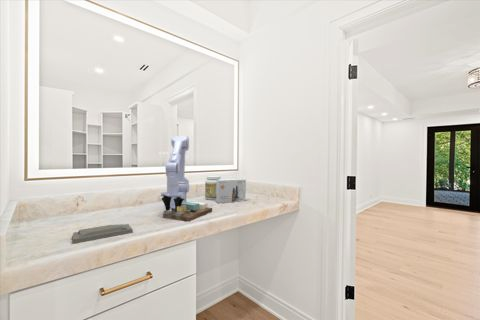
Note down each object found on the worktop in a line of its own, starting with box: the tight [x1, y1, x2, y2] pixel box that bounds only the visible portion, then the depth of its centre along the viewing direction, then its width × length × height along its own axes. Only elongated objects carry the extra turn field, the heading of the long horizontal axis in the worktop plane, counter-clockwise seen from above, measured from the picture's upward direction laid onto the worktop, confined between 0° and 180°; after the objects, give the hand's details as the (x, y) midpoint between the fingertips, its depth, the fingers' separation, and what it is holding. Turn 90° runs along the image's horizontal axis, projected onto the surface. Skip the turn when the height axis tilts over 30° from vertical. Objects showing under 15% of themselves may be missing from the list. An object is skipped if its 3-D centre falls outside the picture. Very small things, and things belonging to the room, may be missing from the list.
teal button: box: [181, 201, 199, 210], centre depth 120 cm, size 10×5×2 cm, turn 66°
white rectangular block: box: [191, 201, 208, 209], centre depth 128 cm, size 10×5×2 cm, turn 65°
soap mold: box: [72, 223, 134, 245], centre depth 89 cm, size 10×20×4 cm, turn 128°
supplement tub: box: [204, 175, 221, 201], centre depth 166 cm, size 12×12×17 cm
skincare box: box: [215, 178, 247, 204], centre depth 156 cm, size 21×6×16 cm, turn 118°
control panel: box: [162, 207, 213, 222], centre depth 120 cm, size 16×22×4 cm
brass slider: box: [177, 205, 187, 214], centre depth 113 cm, size 3×4×4 cm
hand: (172, 211), depth 116 cm, fingers open, 6 cm apart
